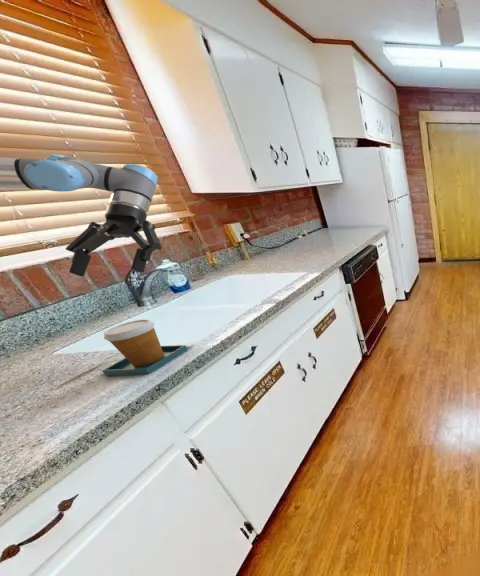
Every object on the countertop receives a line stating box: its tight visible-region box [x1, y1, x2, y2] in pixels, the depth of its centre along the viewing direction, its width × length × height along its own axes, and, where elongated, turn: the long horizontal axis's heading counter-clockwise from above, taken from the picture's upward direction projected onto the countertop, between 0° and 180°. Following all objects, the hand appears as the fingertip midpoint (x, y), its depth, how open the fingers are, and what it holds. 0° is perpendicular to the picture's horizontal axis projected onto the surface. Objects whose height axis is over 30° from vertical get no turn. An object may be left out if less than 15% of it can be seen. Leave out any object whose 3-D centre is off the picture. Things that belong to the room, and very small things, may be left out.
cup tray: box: [101, 344, 189, 377], centre depth 89 cm, size 12×12×2 cm
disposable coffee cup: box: [103, 318, 164, 367], centre depth 87 cm, size 10×10×12 cm
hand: (107, 272), depth 83 cm, fingers open, 13 cm apart
